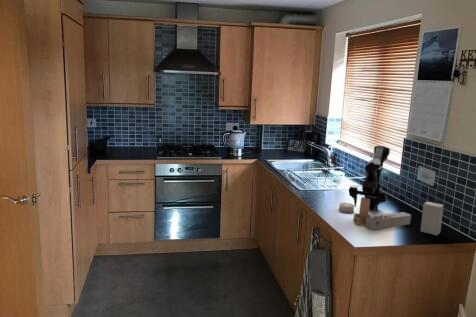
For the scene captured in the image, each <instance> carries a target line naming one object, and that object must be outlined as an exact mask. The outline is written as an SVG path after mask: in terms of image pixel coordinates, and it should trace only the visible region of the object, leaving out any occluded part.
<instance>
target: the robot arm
mask: <svg viewBox="0 0 476 317" xmlns="http://www.w3.org/2000/svg"><path fill="white" fill-rule="evenodd" d="M390 151H391V149H390V147H387V146H384V145H379V144H378V145H376V146H374V148H373V154H374V155H373V157H372V159H370V160H369V161H368V163H366V165H365V167H364V172H365V180H363V181H362V187H361V190H358V187H356V186H350V187H349V189H348V193H349V194H348V195H349V196H350V197H351V198H352V199H353V202H354V204H353V205H354V208H355V207H357V202H358V195H361V196H364V197H366V198H369V199H370V206H369V211H379V205H380V204H383V203H386V202H387V192H383V191H382V188H381V185H380V180H381V176H382V172H383V167H384V162H385V161H387V160H388V158H389V157H388V156H390Z"/></svg>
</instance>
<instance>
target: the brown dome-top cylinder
mask: <svg viewBox="0 0 476 317" xmlns="http://www.w3.org/2000/svg"><path fill="white" fill-rule="evenodd" d="M369 206H370V199H369V198H366V197H365V196H363V197H361V198H360V205H359V211H358V212H359V213H358V214H359V218H360V219H367V217H368V215H370V214H369V213H370V210H369Z"/></svg>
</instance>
